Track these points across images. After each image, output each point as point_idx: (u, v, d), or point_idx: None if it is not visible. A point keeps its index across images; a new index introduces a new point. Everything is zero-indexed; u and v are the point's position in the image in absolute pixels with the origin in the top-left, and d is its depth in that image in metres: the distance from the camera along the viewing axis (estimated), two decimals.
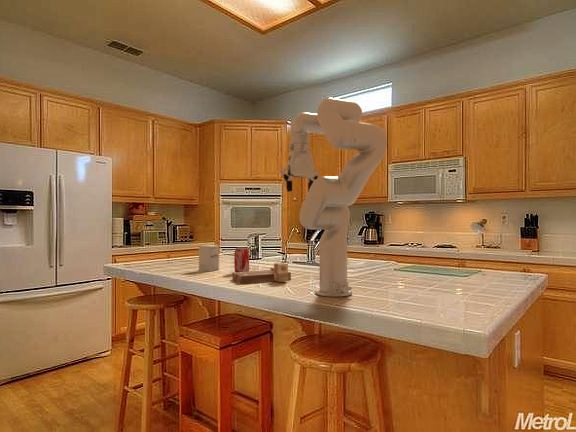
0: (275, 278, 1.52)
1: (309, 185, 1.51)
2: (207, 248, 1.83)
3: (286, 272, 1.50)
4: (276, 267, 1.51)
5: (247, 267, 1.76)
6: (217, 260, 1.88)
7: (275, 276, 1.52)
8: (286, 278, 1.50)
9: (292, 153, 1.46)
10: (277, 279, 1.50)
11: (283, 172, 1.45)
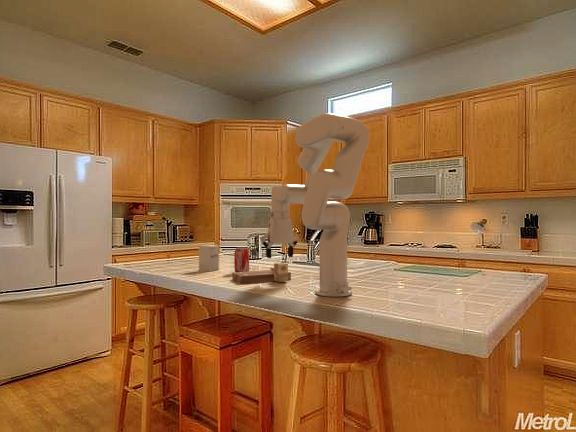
0: (275, 278, 1.52)
1: (289, 250, 1.55)
2: (207, 248, 1.83)
3: (286, 272, 1.50)
4: (276, 267, 1.51)
5: (247, 267, 1.76)
6: (217, 260, 1.88)
7: (275, 276, 1.52)
8: (286, 278, 1.50)
9: (272, 221, 1.49)
10: (277, 279, 1.50)
11: (262, 240, 1.48)
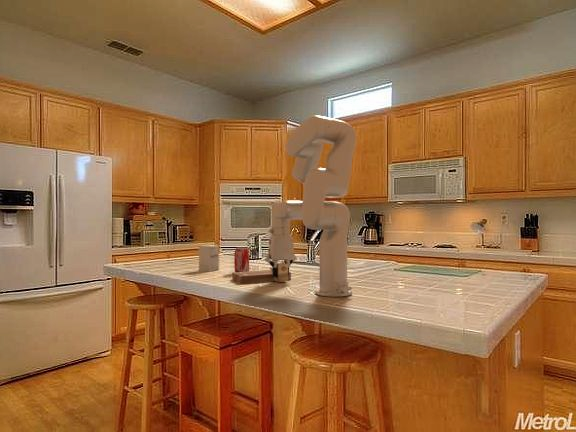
0: (275, 278, 1.52)
1: None
2: (207, 248, 1.83)
3: (286, 272, 1.50)
4: None
5: (247, 267, 1.76)
6: (217, 260, 1.88)
7: None
8: (286, 278, 1.50)
9: (272, 238, 1.48)
10: (277, 279, 1.50)
11: (268, 260, 1.49)
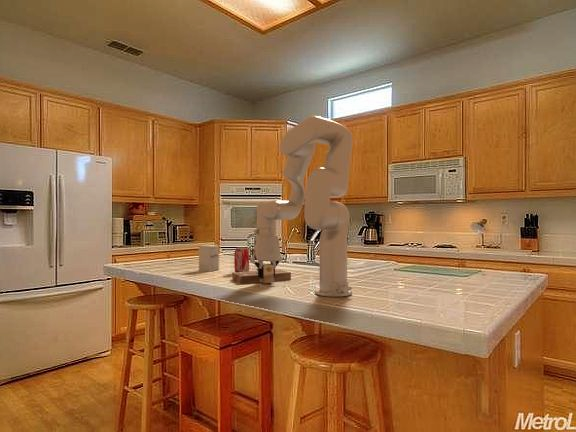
0: (261, 279, 1.49)
1: None
2: (207, 248, 1.83)
3: (272, 273, 1.47)
4: (262, 268, 1.48)
5: (247, 267, 1.76)
6: (217, 260, 1.88)
7: None
8: (271, 279, 1.47)
9: (257, 238, 1.46)
10: (262, 280, 1.47)
11: (253, 261, 1.46)
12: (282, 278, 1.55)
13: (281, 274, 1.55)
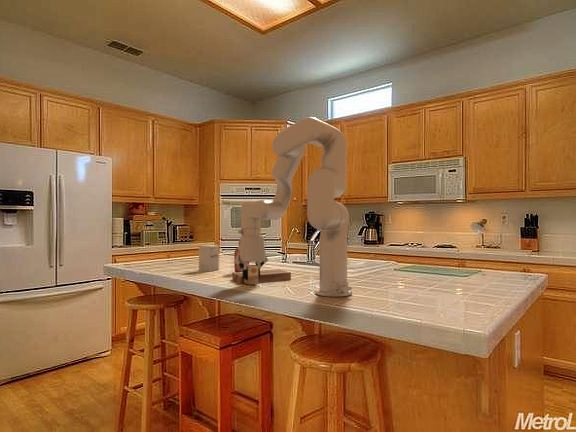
0: (245, 280, 1.46)
1: None
2: (207, 248, 1.83)
3: (256, 274, 1.44)
4: None
5: None
6: (217, 260, 1.88)
7: None
8: (256, 281, 1.44)
9: (242, 239, 1.43)
10: (247, 282, 1.44)
11: (237, 262, 1.43)
12: (282, 278, 1.55)
13: (281, 274, 1.55)
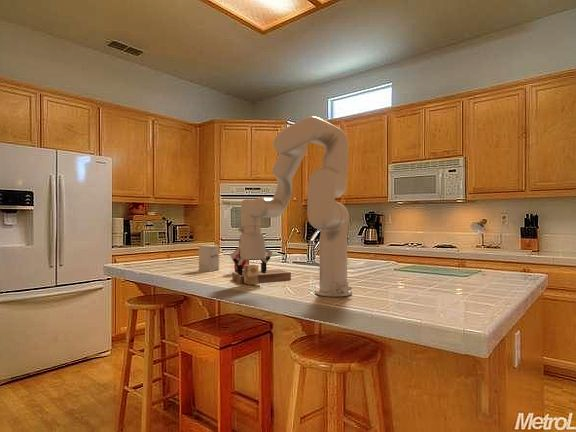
0: (245, 280, 1.46)
1: (261, 266, 1.48)
2: (207, 248, 1.83)
3: (256, 274, 1.44)
4: (246, 269, 1.45)
5: None
6: (217, 260, 1.88)
7: (245, 278, 1.46)
8: (256, 281, 1.44)
9: (242, 236, 1.43)
10: (247, 282, 1.44)
11: (233, 256, 1.42)
12: (282, 278, 1.55)
13: (281, 274, 1.55)
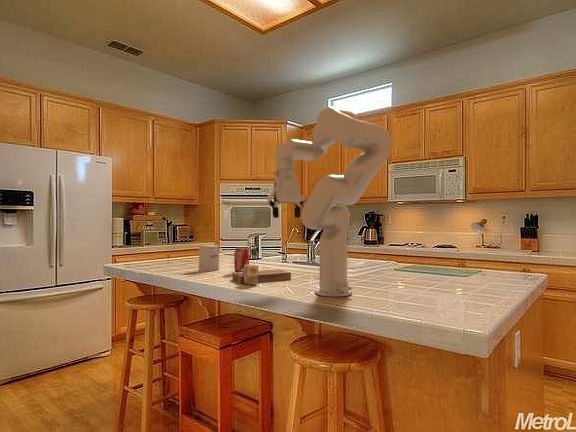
0: (245, 280, 1.46)
1: (295, 210, 1.51)
2: (207, 248, 1.83)
3: (256, 274, 1.44)
4: (246, 269, 1.45)
5: None
6: (217, 260, 1.88)
7: (245, 278, 1.46)
8: (256, 281, 1.44)
9: (278, 179, 1.45)
10: (247, 282, 1.44)
11: (269, 198, 1.44)
12: (282, 278, 1.55)
13: (281, 274, 1.55)
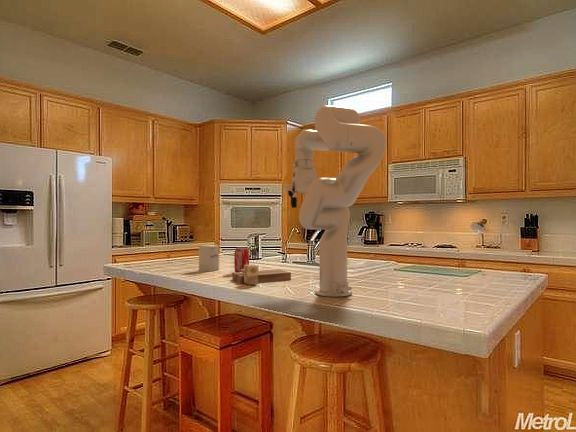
0: (245, 280, 1.46)
1: None
2: (207, 248, 1.83)
3: (256, 274, 1.44)
4: (246, 269, 1.45)
5: None
6: (217, 260, 1.88)
7: (245, 278, 1.46)
8: (256, 281, 1.44)
9: (297, 170, 1.47)
10: (247, 282, 1.44)
11: (288, 189, 1.46)
12: (282, 278, 1.55)
13: (281, 274, 1.55)
